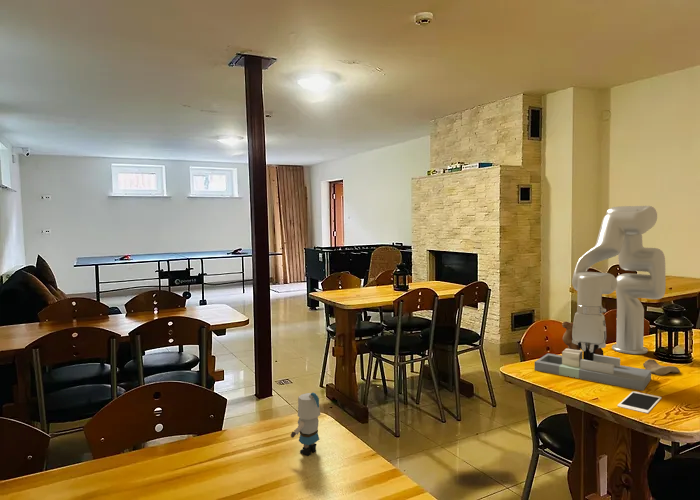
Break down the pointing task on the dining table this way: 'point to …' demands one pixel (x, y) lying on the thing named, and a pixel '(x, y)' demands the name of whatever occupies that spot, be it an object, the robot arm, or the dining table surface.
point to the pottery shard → (659, 368)
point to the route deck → (597, 371)
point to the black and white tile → (639, 402)
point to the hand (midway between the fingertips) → (588, 362)
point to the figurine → (568, 339)
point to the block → (572, 357)
